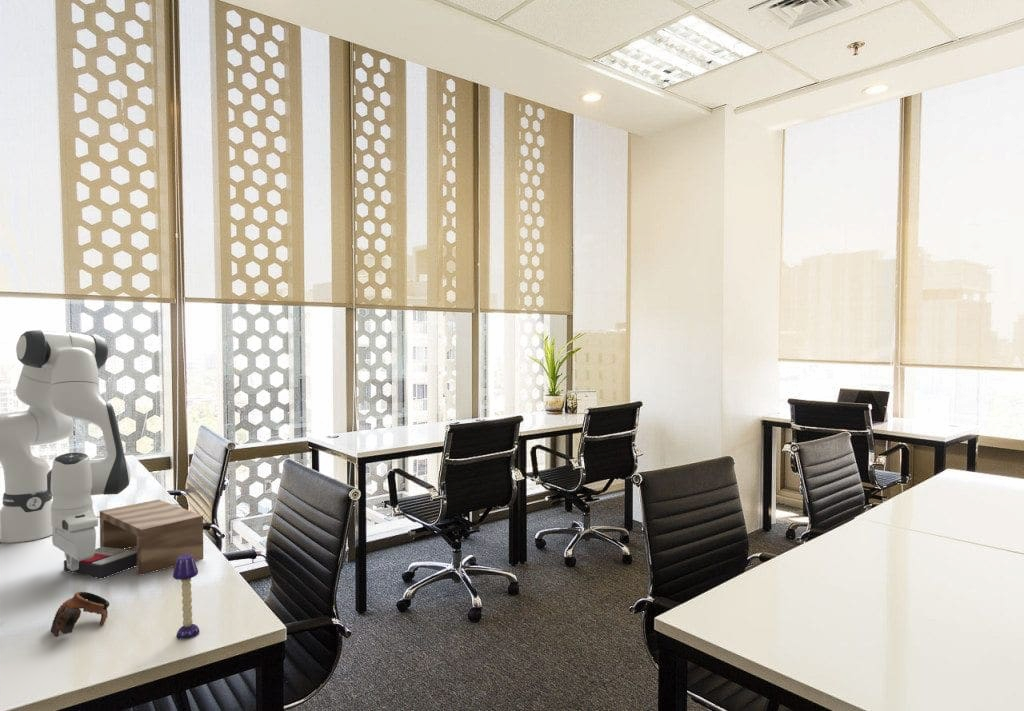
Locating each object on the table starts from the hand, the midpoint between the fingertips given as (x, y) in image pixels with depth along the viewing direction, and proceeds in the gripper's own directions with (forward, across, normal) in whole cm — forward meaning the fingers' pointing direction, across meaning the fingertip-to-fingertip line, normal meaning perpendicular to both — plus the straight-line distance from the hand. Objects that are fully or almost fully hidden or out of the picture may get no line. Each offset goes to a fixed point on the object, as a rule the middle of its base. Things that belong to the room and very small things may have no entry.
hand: (73, 569), depth 159 cm
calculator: (+2, 0, +7) cm, 7 cm away
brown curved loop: (+2, +35, -10) cm, 36 cm away
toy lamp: (+2, +56, +4) cm, 56 cm away
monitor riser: (+2, 0, +19) cm, 19 cm away
